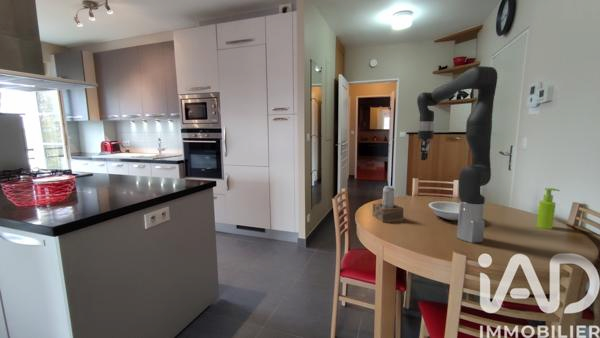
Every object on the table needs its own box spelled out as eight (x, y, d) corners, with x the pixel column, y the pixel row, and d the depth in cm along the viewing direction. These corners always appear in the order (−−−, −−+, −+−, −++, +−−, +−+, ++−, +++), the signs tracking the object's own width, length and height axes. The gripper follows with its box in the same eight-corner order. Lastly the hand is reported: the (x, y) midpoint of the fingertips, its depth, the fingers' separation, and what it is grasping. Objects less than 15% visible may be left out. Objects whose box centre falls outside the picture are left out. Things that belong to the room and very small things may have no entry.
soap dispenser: (557, 229, 131) (563, 190, 128) (541, 228, 132) (546, 189, 130) (549, 225, 137) (554, 187, 134) (533, 224, 138) (538, 187, 135)
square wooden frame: (403, 220, 145) (403, 208, 144) (382, 222, 142) (383, 209, 141) (391, 214, 156) (391, 202, 155) (372, 215, 154) (372, 203, 153)
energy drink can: (394, 214, 146) (396, 187, 143) (383, 214, 146) (385, 187, 144) (391, 211, 152) (392, 185, 149) (380, 211, 152) (381, 185, 150)
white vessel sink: (463, 212, 159) (464, 201, 158) (486, 226, 135) (488, 214, 135) (421, 211, 162) (422, 200, 161) (437, 225, 138) (438, 212, 137)
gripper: (432, 129, 137) (430, 161, 139) (434, 130, 149) (433, 158, 151) (416, 130, 141) (415, 160, 143) (420, 130, 153) (418, 158, 155)
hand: (424, 159), depth 147 cm, fingers open, 8 cm apart
